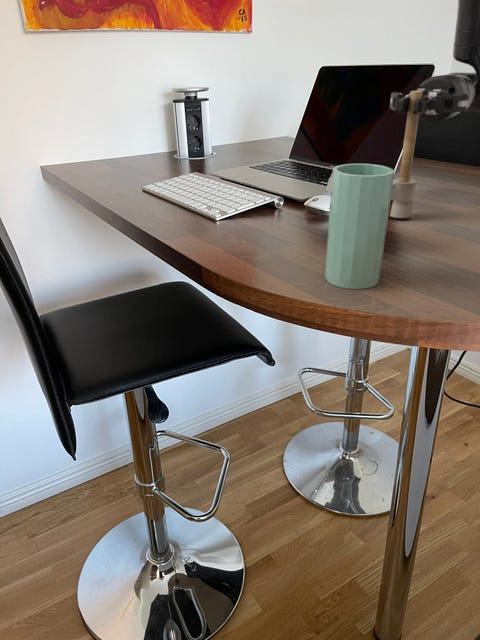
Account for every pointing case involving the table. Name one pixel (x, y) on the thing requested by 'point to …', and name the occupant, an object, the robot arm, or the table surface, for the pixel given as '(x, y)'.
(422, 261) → the table surface
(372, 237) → the mint green pencil cup
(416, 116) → the brush
